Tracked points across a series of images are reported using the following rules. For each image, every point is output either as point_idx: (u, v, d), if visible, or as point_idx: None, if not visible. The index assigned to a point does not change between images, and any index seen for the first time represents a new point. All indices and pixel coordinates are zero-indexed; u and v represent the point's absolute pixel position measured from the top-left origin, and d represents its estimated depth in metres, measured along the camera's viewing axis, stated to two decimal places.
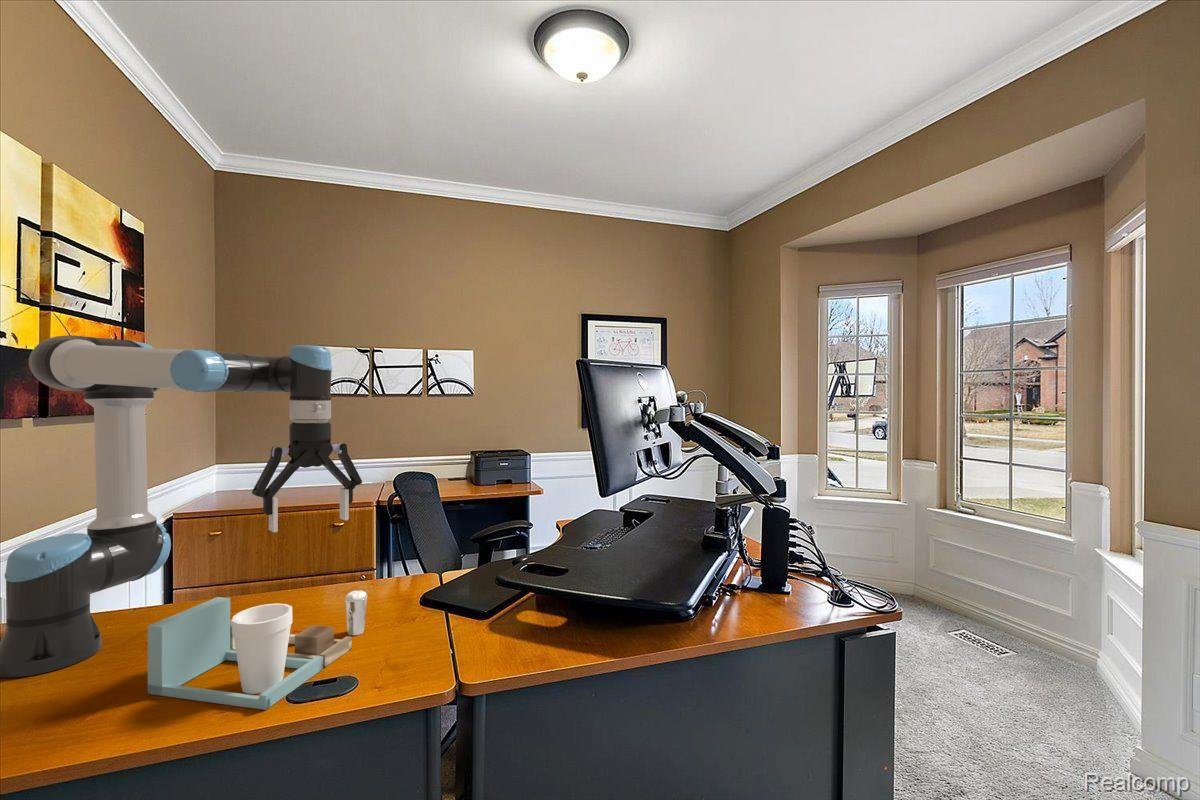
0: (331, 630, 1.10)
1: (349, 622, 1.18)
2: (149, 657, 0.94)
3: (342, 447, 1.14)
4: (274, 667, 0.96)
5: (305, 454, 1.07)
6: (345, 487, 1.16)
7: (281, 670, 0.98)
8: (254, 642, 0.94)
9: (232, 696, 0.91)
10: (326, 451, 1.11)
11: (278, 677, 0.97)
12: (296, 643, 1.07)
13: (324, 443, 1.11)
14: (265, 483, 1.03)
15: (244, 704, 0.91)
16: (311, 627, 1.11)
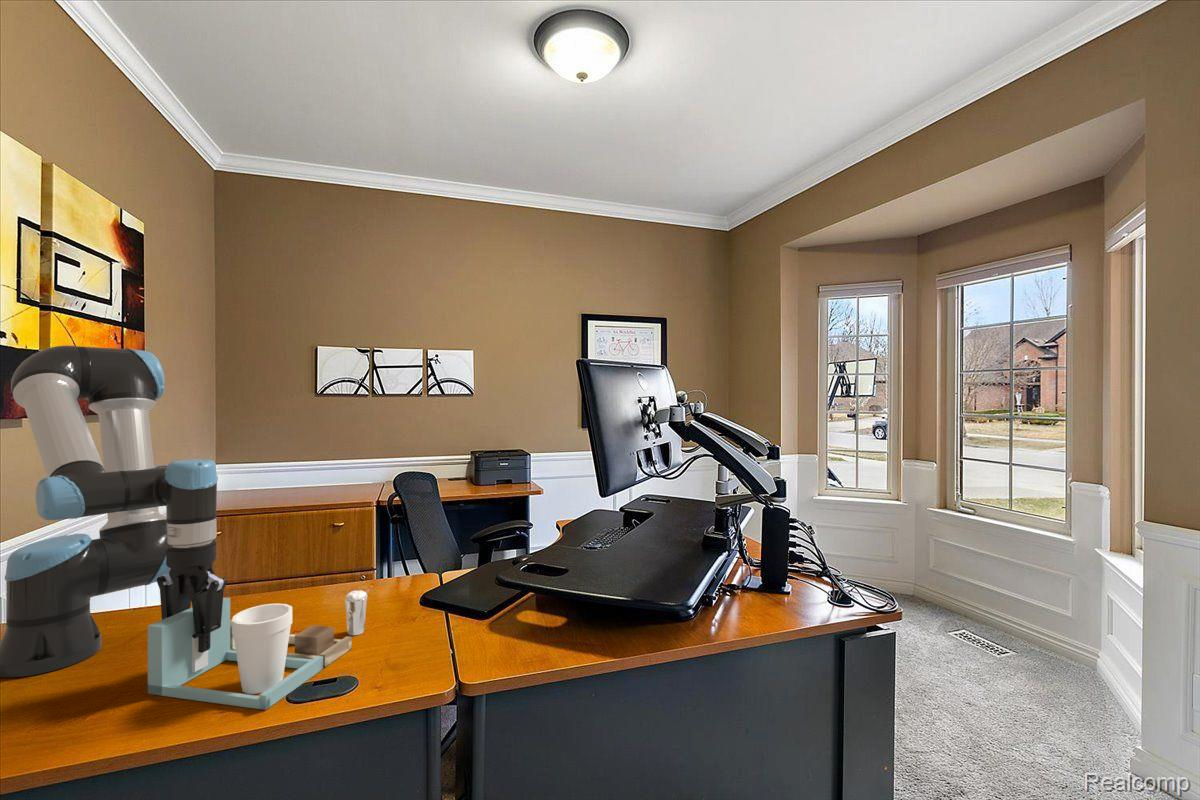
0: (331, 630, 1.10)
1: (349, 622, 1.18)
2: (149, 657, 0.94)
3: (211, 585, 0.99)
4: (274, 667, 0.96)
5: (174, 581, 0.99)
6: None
7: (281, 670, 0.98)
8: (254, 642, 0.94)
9: (232, 696, 0.91)
10: (198, 579, 0.99)
11: (278, 677, 0.97)
12: (296, 643, 1.07)
13: (196, 569, 0.99)
14: (164, 615, 1.01)
15: (244, 704, 0.91)
16: (311, 627, 1.11)
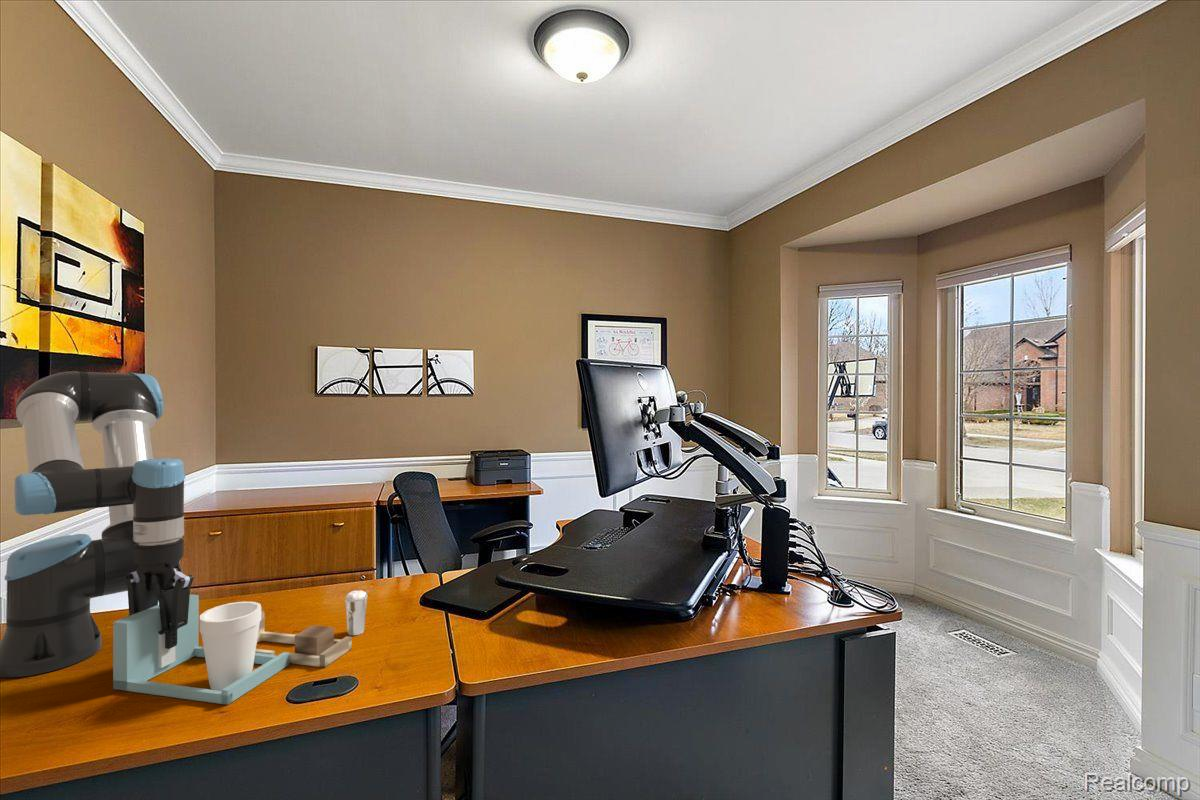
0: (331, 630, 1.10)
1: (349, 622, 1.18)
2: (114, 653, 0.96)
3: (177, 582, 1.00)
4: (244, 663, 0.97)
5: (141, 578, 1.01)
6: None
7: (250, 666, 0.99)
8: (224, 639, 0.95)
9: (195, 691, 0.93)
10: (165, 576, 1.01)
11: (247, 673, 0.98)
12: (296, 643, 1.07)
13: (163, 567, 1.01)
14: (132, 612, 1.02)
15: (206, 699, 0.92)
16: (311, 627, 1.11)
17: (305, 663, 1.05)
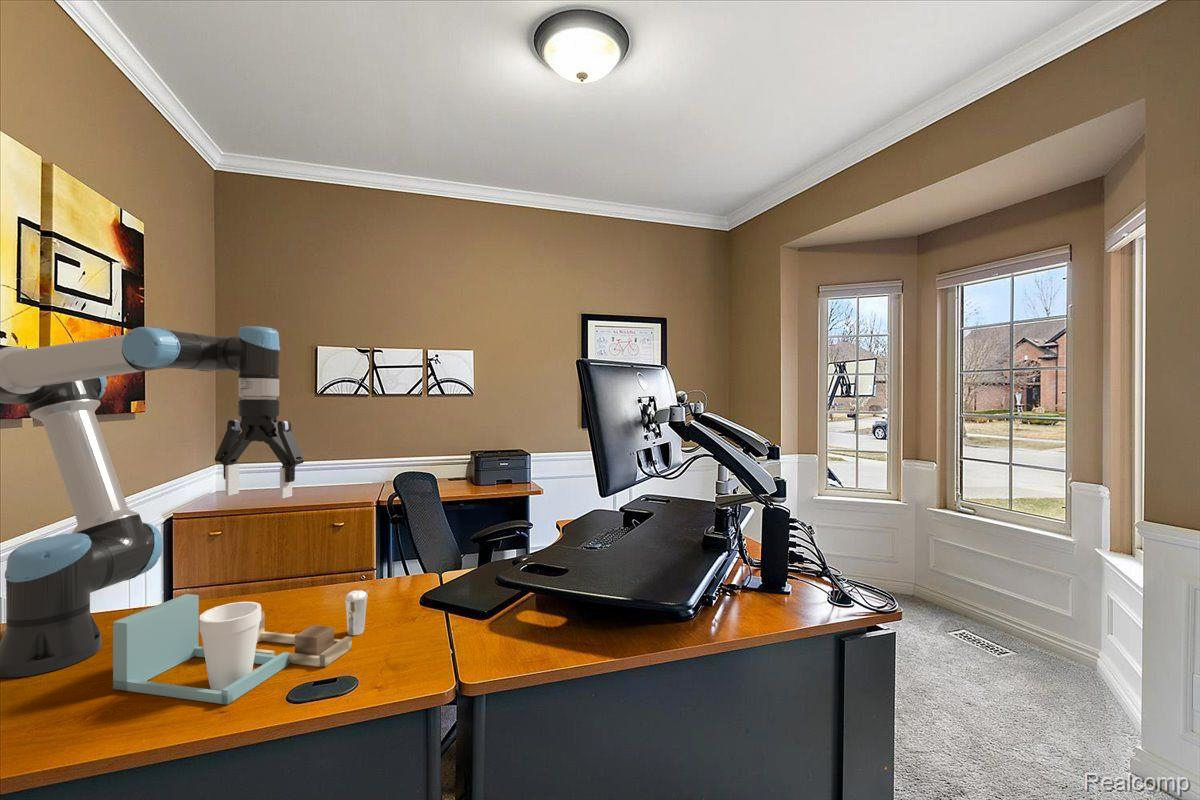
0: (331, 630, 1.10)
1: (349, 622, 1.18)
2: (114, 653, 0.96)
3: (278, 425, 1.15)
4: (244, 663, 0.97)
5: (245, 428, 1.15)
6: None
7: (250, 667, 0.99)
8: (224, 639, 0.95)
9: (195, 691, 0.93)
10: (265, 427, 1.15)
11: (247, 673, 0.98)
12: (296, 643, 1.07)
13: (264, 419, 1.15)
14: (220, 451, 1.17)
15: (206, 699, 0.92)
16: (311, 627, 1.11)
17: (305, 663, 1.05)
